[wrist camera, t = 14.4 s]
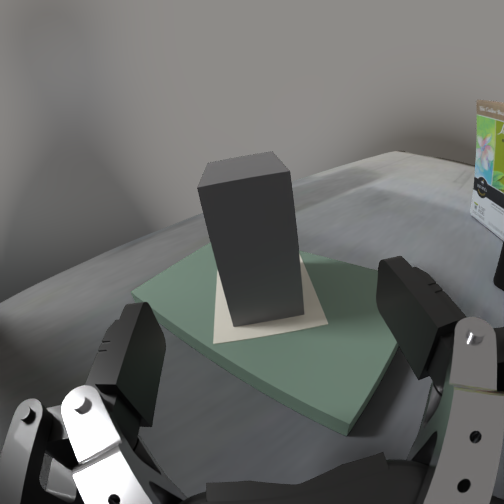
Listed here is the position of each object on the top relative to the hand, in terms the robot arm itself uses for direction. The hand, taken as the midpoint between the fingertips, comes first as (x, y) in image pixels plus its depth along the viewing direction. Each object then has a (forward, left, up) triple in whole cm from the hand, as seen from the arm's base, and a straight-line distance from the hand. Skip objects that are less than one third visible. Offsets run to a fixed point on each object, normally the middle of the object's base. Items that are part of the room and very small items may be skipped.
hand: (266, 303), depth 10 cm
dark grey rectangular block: (-7, +6, -6) cm, 11 cm away
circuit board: (-7, +6, -8) cm, 12 cm away
